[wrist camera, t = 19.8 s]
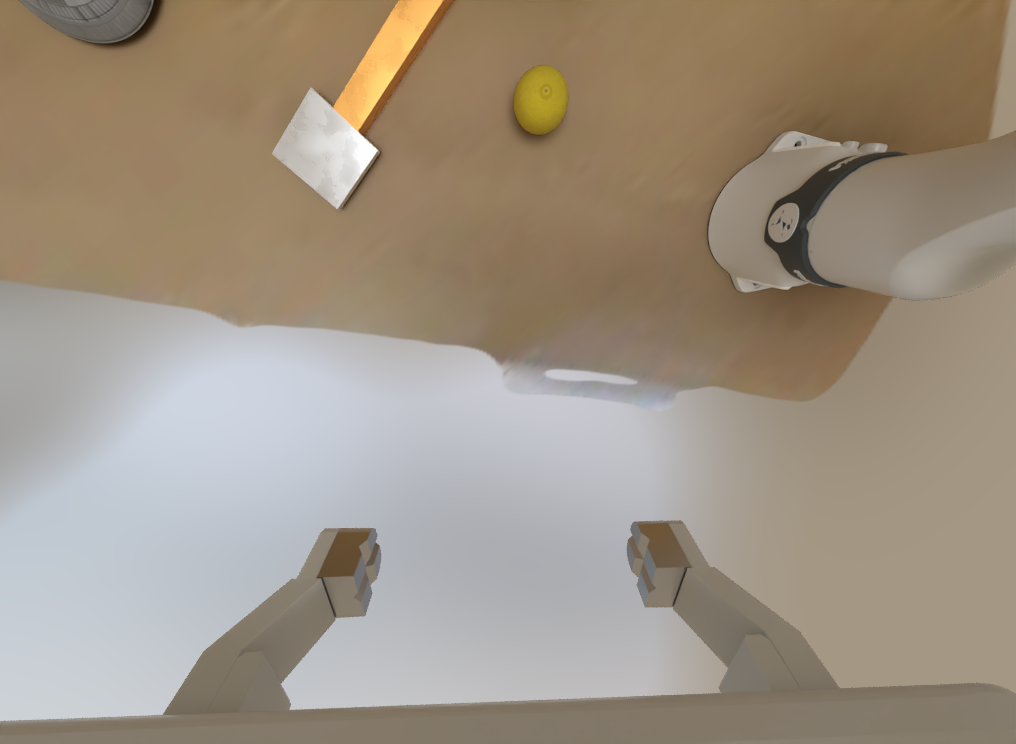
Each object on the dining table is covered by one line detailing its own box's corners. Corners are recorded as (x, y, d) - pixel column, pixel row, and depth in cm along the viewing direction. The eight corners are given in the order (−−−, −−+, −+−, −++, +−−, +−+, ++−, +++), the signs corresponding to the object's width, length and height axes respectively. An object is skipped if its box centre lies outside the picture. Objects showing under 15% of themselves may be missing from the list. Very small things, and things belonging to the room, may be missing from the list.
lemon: (553, 72, 39) (568, 42, 31) (565, 130, 41) (581, 115, 34) (504, 90, 39) (508, 64, 32) (519, 146, 41) (525, 135, 34)
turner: (271, 153, 38) (283, 156, 41) (337, 209, 41) (344, 208, 43) (405, -75, 32) (410, -57, 34) (473, 9, 34) (474, 20, 36)
